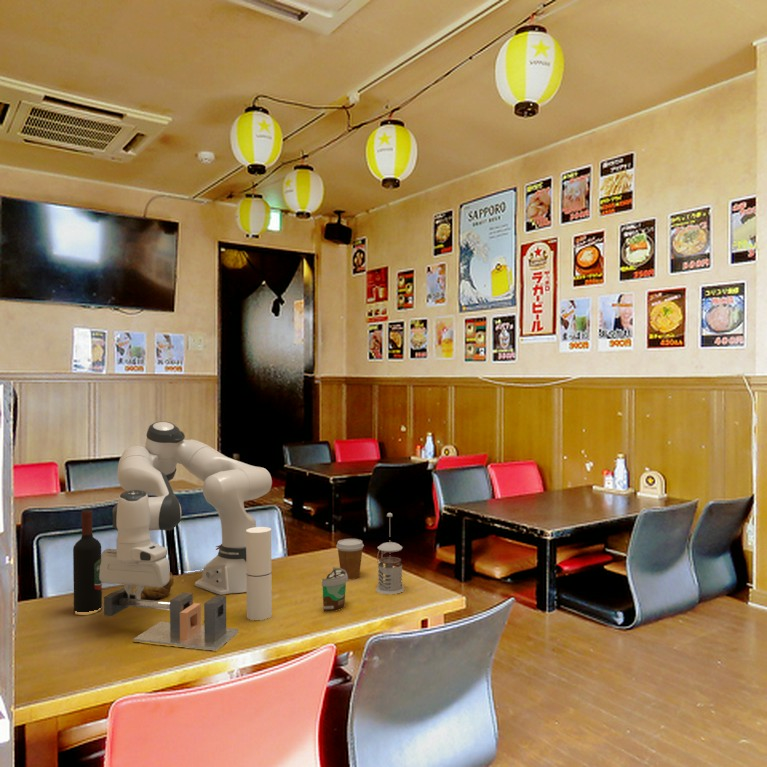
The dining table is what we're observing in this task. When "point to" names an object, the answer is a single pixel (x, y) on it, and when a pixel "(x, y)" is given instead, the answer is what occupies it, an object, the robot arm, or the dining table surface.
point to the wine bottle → (87, 568)
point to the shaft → (129, 603)
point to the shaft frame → (206, 638)
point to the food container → (334, 590)
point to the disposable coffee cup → (350, 556)
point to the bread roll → (156, 590)
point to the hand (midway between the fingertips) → (134, 600)
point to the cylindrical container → (258, 573)
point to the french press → (389, 568)
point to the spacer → (185, 626)
